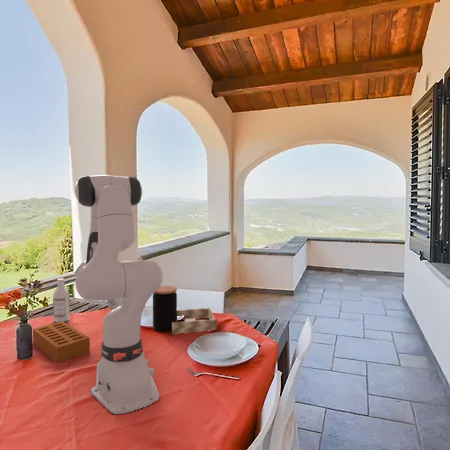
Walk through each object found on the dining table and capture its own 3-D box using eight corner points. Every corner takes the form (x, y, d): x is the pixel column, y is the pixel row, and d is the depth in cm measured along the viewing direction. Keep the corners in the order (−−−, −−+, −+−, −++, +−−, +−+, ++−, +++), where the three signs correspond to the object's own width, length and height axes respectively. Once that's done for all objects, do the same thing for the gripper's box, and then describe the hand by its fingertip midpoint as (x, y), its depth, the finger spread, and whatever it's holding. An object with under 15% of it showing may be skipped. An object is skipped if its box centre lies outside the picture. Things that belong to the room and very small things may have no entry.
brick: (90, 353, 130) (89, 337, 129) (57, 364, 121) (57, 347, 121) (63, 334, 147) (62, 321, 146) (32, 343, 138) (32, 328, 138)
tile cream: (185, 326, 158) (185, 322, 158) (184, 322, 163) (184, 318, 163) (196, 325, 159) (196, 321, 159) (194, 322, 164) (194, 317, 164)
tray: (172, 334, 148) (172, 323, 147) (169, 320, 164) (169, 310, 164) (216, 330, 152) (216, 319, 152) (209, 317, 169) (209, 307, 168)
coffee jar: (179, 324, 160) (179, 286, 159) (173, 332, 149) (173, 292, 148) (157, 323, 161) (156, 285, 160) (149, 331, 150) (149, 291, 149)
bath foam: (61, 317, 168) (60, 276, 166) (72, 318, 165) (72, 278, 164) (50, 321, 161) (49, 280, 160) (61, 323, 159) (60, 281, 157)
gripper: (111, 292, 138) (136, 314, 142) (114, 280, 158) (136, 299, 161) (99, 303, 138) (125, 325, 141) (104, 290, 157) (127, 309, 161)
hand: (131, 311), depth 151 cm, fingers closed
